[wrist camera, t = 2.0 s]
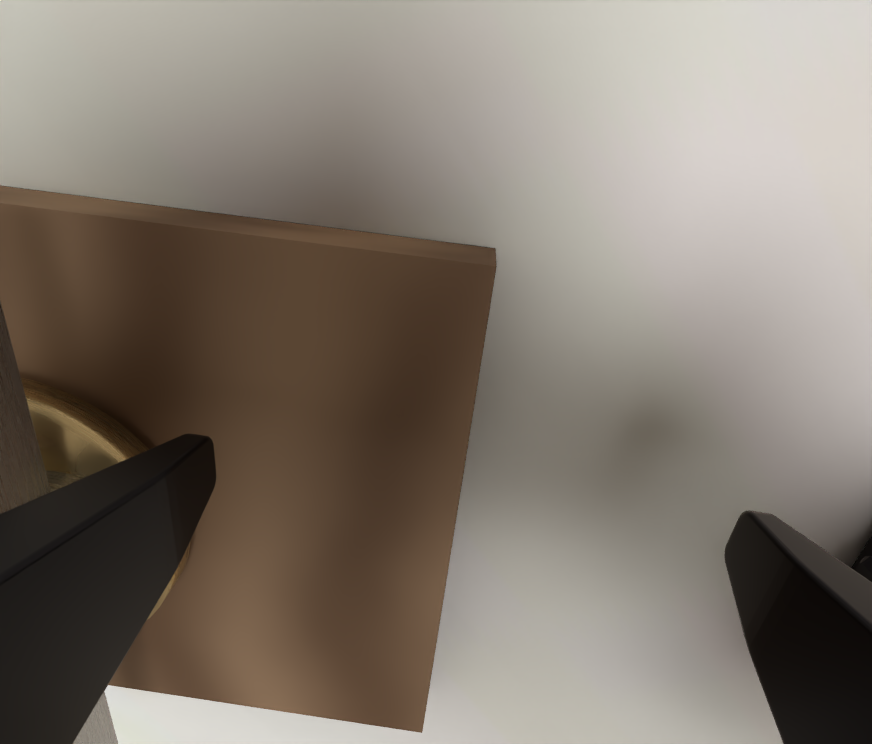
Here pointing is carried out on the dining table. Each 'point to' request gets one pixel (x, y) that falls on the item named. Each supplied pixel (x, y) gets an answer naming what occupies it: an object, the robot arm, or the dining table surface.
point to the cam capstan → (57, 463)
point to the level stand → (272, 431)
